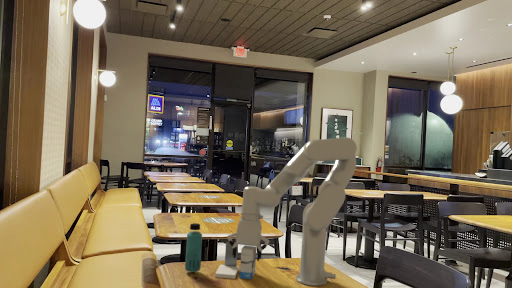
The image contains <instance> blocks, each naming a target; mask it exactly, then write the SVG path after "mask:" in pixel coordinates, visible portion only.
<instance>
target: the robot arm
mask: <svg viewBox="0 0 512 288" xmlns="http://www.w3.org/2000/svg"><path fill="white" fill-rule="evenodd" d="M357 150H358V147H357V143H356V141H355V140H354V139H353V138H350V137H346V136H345V137H343V136H342V137H337V138H336V137H335V138H325V139H311V140H309V141H307V142H306V143H305V144H304V145H303V146H302V147H301V148H300V149H299V151H298V152H297V153H296V154H295V155H294V156H293V157H292V158H291V159H290V160H289V161H288V163H287V164H285V166H284V167H283V168H282V170H281V171H280V172H279V173H278V174H277V175H276V176H275V177H274V178H273V179H272V181H270V183H269V184H268V185H267V186H266V187H265V188H261V187H259V186H254V185H253V186H250V185H248V186H245V187H244V188H243V193H242V194H243V195H242V202H241V203H242V205H241V216H240V218H239V220H238V223H237V227H236V232H234V233H231V234H229V235H227V237H226V238H227V242H229V243H230V245H231V246H232V248H233V253H232V255H234V258H236V254H237V255H238V250H237V245H240V246H241V245H243V246H245V245H249V246H257V249H258V250H257V254H256V261H258V262H259V261H260V259H262V253H263V252H262V251H264V249H266V248H267V246H268V245H269V243H270V240H269V239H268V238H266V237H265V236H263V235H262V228H263V227H262V219H264V215H263V214H261V207H265V208H270V209H271V208H272V209H273V208H275V207H277V206H278V205H279V204H280V203H281V198H282V197H283V196H284V195H285V193H287V191H288V190H289V189H290V188H291V187H293V186H294V185H295V184H297V183H299V182H300V181H301V180H302V179H304V177H306V175H308V173H309V172H310V171H311V170H312V169H313V168H314V166H315V165H316V164H318V163H319V162H329V161H330V162H331V161H334V164H333V166H332V168H331V169H330V172H329V173H328V174H327V175H326V178H325V179H324V180H323V181H322V183H321V184H320V186H319V188H318V195H317V197H316V198H315V200H314V201H313V202H309V203H308V204H307V205H306V206H304V209H303V212H302V236H301V249H300V251H301V252H300V268H299V270H300V271H299V273H298V274H296V276H295V280H296V281H297V282H298V283H300V284H303V285H307V286H312V287H313V286H314V287H315V286H316V287H318V286H320V287H321V286H324V285H326V284H327V283H328V279H331V280H332V279H333V280H336V277H337V276H336V274H335V273H333V272H331V271H325V270H326V269H325V260H326V259H325V258H326V257H325V256H326V244H327V243H326V242H327V228H328V226H330V224H331V223H332V221H333V220H334V218H335V217H336V215H337V213H338V212H339V211H340V209H341V207H342V206H343V204H344V202H345V199H346V191H345V190H346V188H347V186H348V185H349V182H351V180H352V178H353V175H354V174H355V171H356V168H357V156H356V153H357ZM233 238H235V243H234V240H233ZM262 241H263V242H264V244H263V245H261V243H262Z"/></svg>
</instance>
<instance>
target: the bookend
mask: <svg viewBox="0 0 512 288" xmlns="http://www.w3.org/2000/svg"><path fill="white" fill-rule="evenodd" d="M233 242H234V241H233ZM235 242H236V241H235ZM235 242H234V243H235ZM238 245H239V244H238ZM238 245H237V251H238V247H239V246H238ZM232 253H233V248H232V246H231V245H230V243H229V241H226V242H225V255H224V256H225V257H224V265H225V266H234V267H236V266H238V265H237V263H238V253H237V254H236V258H234V255H232Z"/></svg>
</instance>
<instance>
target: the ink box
mask: <svg viewBox="0 0 512 288" xmlns="http://www.w3.org/2000/svg"><path fill="white" fill-rule="evenodd" d="M257 249H258V248H257V246H249V245H243V246H242V247H241V250H240V266H239V279H245V280H252V278H253V277H254V276H255V274H256V263H257V262H256V261H257Z"/></svg>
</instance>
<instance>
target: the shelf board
mask: <svg viewBox="0 0 512 288" xmlns="http://www.w3.org/2000/svg"><path fill="white" fill-rule="evenodd" d="M239 271H240V266H239V265H237V266H236V267H234V266H225V264H219V266H218V268H217V270H216V272H215V273H214V278H220V279H221V278H222V279H223V278H224V279H231V280H232V279H233V280H235V279H236V277H237V275H238V273H239Z"/></svg>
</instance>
